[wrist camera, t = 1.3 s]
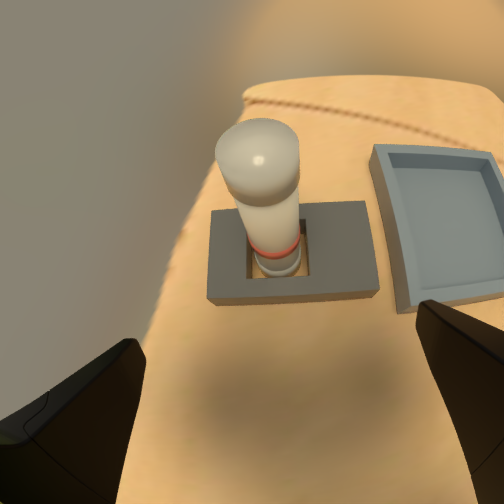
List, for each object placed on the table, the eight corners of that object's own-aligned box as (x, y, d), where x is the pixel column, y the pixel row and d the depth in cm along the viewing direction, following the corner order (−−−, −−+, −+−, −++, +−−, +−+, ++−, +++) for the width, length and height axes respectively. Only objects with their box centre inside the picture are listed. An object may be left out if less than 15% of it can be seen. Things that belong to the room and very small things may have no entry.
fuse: (302, 279, 22) (303, 175, 10) (258, 282, 23) (212, 183, 11) (299, 239, 23) (294, 115, 12) (257, 241, 24) (218, 123, 12)
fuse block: (371, 297, 21) (379, 289, 18) (216, 305, 22) (206, 298, 20) (359, 216, 23) (364, 200, 21) (219, 225, 25) (211, 210, 23)
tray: (518, 293, 18) (536, 284, 15) (397, 314, 20) (411, 306, 17) (480, 169, 23) (491, 152, 20) (368, 165, 25) (374, 144, 22)
